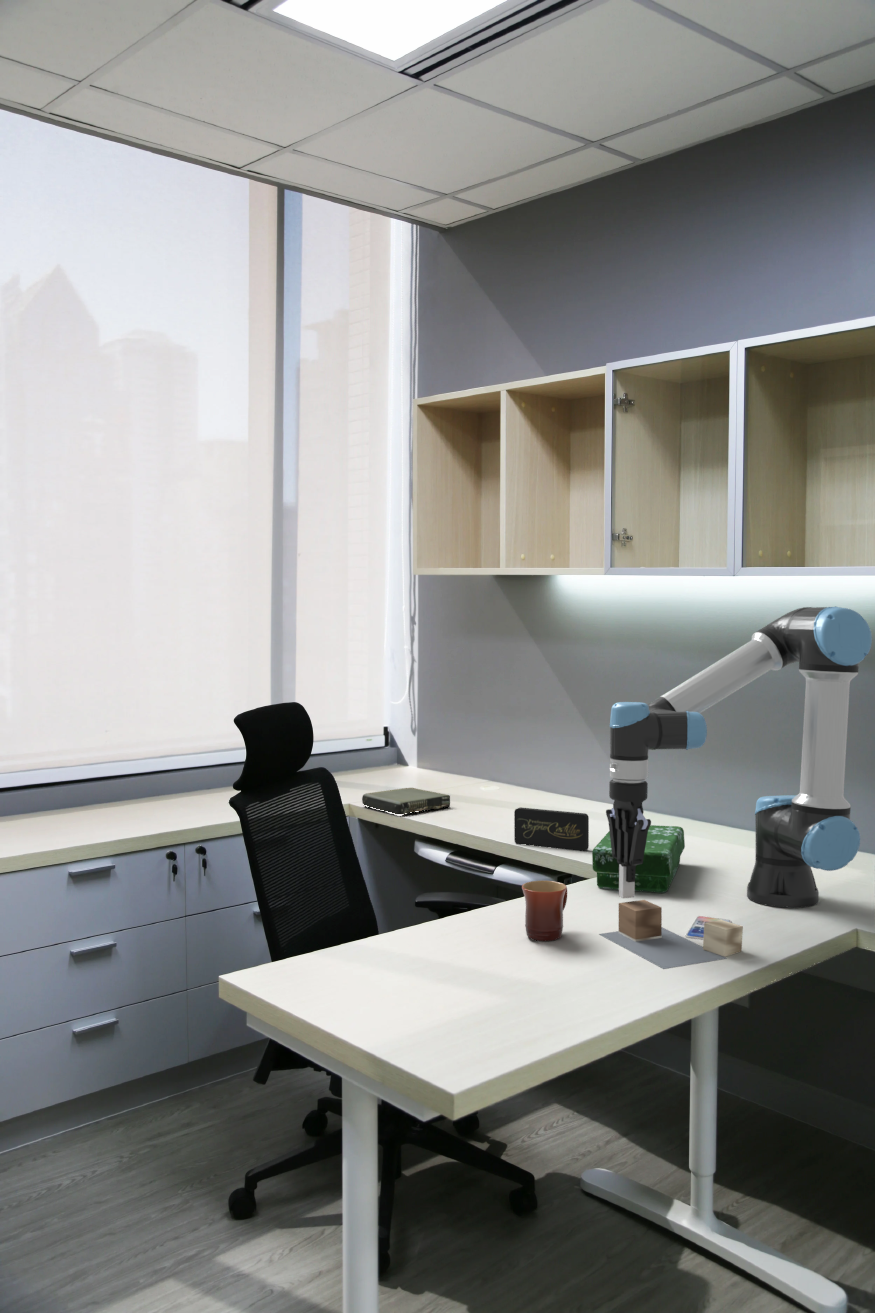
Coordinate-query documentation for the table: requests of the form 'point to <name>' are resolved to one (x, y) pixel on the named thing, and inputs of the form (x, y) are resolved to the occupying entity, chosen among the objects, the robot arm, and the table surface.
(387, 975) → the table surface
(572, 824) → the nameplate
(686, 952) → the felt mat
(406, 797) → the network switch
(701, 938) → the smartphone
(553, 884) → the mug
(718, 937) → the maple block
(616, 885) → the box
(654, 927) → the walnut cube
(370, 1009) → the table surface
